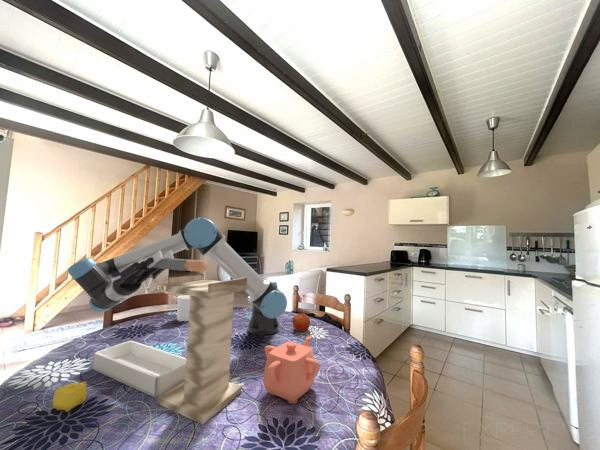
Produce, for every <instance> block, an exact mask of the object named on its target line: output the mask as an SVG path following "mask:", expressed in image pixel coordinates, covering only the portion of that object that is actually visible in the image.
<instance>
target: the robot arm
mask: <svg viewBox="0 0 600 450" xmlns="http://www.w3.org/2000/svg"><path fill="white" fill-rule="evenodd" d="M192 249H196V251H198V252H199V254H201V255H202V256H203V257H210V259H212V260H213V261H214V262H215V263H216V264H217V265H218V267H220V269H222V270H223V271H224V272H225V274H227V275H228V276H229V277H230V278H231V280H233V279H238V278H244V277H246V278H247V290H244V291H245V292H246V293H247V294H248V295H249V301H250V303H252V313H251V317H250V319H249V321H248V325H247V331H248V333H250V334H253V335H257V336H264V335H265V336H268V335H269V336H270V335H273V334H276V333H277V332H279V330H280V323H279V320H278V318H279V317H281V316H282V315H283V314H284V313H285V311H286V310H287V306H288V299H287V297H286V295H285V293H283V291H280V290H279V289H278V283H277V282H276V281H270V279H269V280H268V279H267V280H264V279H263V278H262V277H261V276H260V274H258V272H257V271H255V269H253V268H252V266H250V265H249V264H248V262H246V260H244V259H243V258H242V257H241V256H240V255H239V254H238V253H237V252H236V251H235V250H234V248H232V247H231V245H229V243H227V242H226V235H225V234H224V233H223V232H222V231H220V229H219V228H218V227H217V226H216V224H215V223H214V222H213V221H212V220H210V219H209V218H206V217H196V218H194V219H190V221H189V222H188V223H186V225H185V227H184V228H182V229H180V230H179V231H178V233H176V234H174V235H171V236H168V237H166V238H162V239H160V240H158V241H155V242H152V243H150V244H147V245H145V246H142V247H139V248H137V249H134V250H130V251H128V252H126V253H122V254H120V255H118V256H115V257H113V258H109V259H107V260H105V261H101V262H97V261H95V260H94V259H93V258H92V257H86V258H83V259H81V260H78V261H77V262H74V264H72V265H70V266H69V267H68V269H67V273H68V274H69V275H70V276H71V279H72V280H74V281H75V282H76V283H77V284H78V285H79V286H80V287H81V288H82V290H84V292H86V293H87V295H88V297H90V299H89V301H88V302H89V307H90V309H92V311H94V312H97V313H102V312H106V311H109V310H110V309H113V308H114V307H115V306H117V305H118V304H119V303H121V302H123V301H125V299H126V298H128V297H129V296H131V295H133V294H134V293H135V292H137V291H138V290H140V288H141V286H142V284H143V282H145V281H147V279H152V280H156V278H157V277H158V276H159V275H160V274H161V273H163V272H164V271H165V270H166V269H162V268H152V267H153V266H154V265H155V264H157V263H158V262H159V261H161V260H162V259H163V258H174V259H175V256H174V254H177V253H178V252H182V251H184V250H186V251H190V250H192ZM112 279H113V280H112Z"/></svg>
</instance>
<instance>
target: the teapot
mask: <svg viewBox="0 0 600 450" xmlns="http://www.w3.org/2000/svg"><path fill="white" fill-rule="evenodd" d="M312 337H313V335H311V334H310V335H308V336H307V337H306V338H305V340H304V342H303V344H301V343H297V342H294V341H286V342H283V343H281V344H280V345H277V346H275V345H265V348H264V352H265V357H266V362H265V366H264V371H263V378H262V379H263V380H262V381H263V383H262V384H263V387H264V390H265V391H267V392H269V394H270V395H271V396H277V397H279V398H282V399H284V400H286V401H287V402H288V403H289V404H291V405H296V404H297V403H298V402H299V401H298V399H299V398H300V397H302V396H304V395H305V394H306V393H307V392H309V391H310V388H312V386H313V384H314V382H315V381H316V380H315V379H316V375H317V374H318V373H319V372H320V370H321V363H320V361H318V360H317V359H315V355H314V350H313V347H311V345H310V343H311V340H312Z"/></svg>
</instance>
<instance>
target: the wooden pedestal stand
mask: <svg viewBox="0 0 600 450" xmlns="http://www.w3.org/2000/svg"><path fill="white" fill-rule="evenodd" d="M245 290H247V278H246V277H244V278H238V279H227V280H223V281H222V280H213V279H201V280H195V281H188V282H181V283H176V284H175V283H174V284H169V285H168V284H167V285H166V287H165V292H168V293H172V294H178V295H190V296H191V297H190V311H189V321H188V325H187V326H188V329H187V330H188V331H187V342H186V343H187V344H186V345H187V346H186V356H185V358H186V369H185V381H184V382H183V383H181V384H179V385H178V386H176V387H174V388H172V389H171V390H169V391H167V392H166V393H164V394H162V395H161V396H159V397H157V401H156V402H157V404H158V405H160V406H161V407H164V408H166V409H168V410H171V412H175V413H177V414H179V415H181V416H183V417H185V418H187V419H189V420H192V421H194V422H196V423H197V424H199V425H203V426H204V425H205V424H206V423H207V422H208V421H209V420H210V419H211V418H213V417H214V416H215V415H216V414H217V413H219V412H220V411H221V410H222V409H223V408H224V407H226V406H227V405H228V404H229V403H230V402H232V401H233V400H234V399H235V398H237V396H239V395H240V394H241V393H242V388H243V386H242V385H239V384H236V383H233V382H230V370H231V369H230V368H231V367H230V366H231V355H232V354H231V350H232V334H233V333H232V332H233V318H234V317H233V313H234V312H233V311H234V297H235V295H234V294H235V293H239V292H244V291H245Z"/></svg>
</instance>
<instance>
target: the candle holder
mask: <svg viewBox="0 0 600 450" xmlns="http://www.w3.org/2000/svg"><path fill="white" fill-rule="evenodd" d="M190 297H191V296H190V295H184V294H180V295H179V296H177V297H176V299H177V303H176V304H177V305H176V307H177V309H176V310H177V311H176V320H177V321H178V322H182V321H184V322H189V311H190Z"/></svg>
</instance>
